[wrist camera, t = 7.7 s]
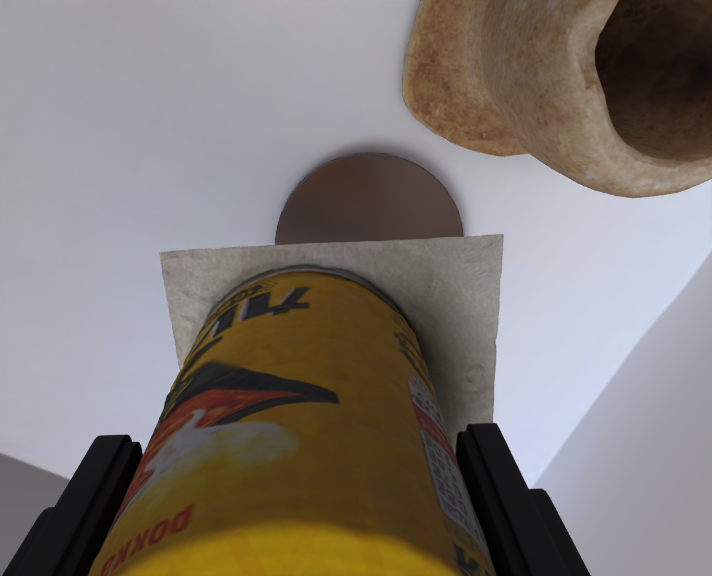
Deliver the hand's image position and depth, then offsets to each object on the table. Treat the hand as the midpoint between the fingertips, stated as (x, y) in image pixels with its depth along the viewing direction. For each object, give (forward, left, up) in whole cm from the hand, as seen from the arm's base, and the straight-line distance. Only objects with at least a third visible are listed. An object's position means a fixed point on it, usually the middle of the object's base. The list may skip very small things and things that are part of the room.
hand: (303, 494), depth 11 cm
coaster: (+2, +3, -23) cm, 24 cm away
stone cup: (-10, +12, -24) cm, 28 cm away
